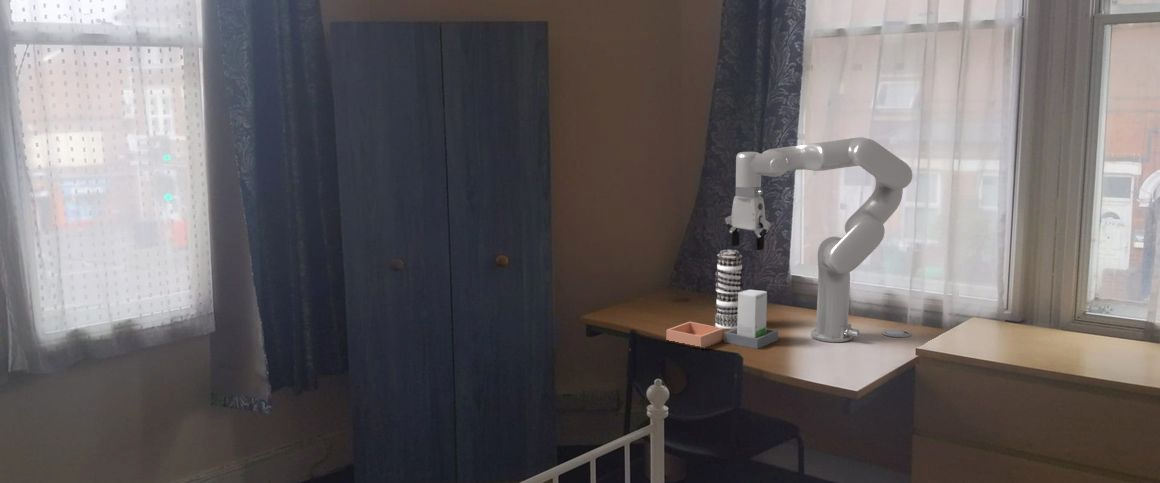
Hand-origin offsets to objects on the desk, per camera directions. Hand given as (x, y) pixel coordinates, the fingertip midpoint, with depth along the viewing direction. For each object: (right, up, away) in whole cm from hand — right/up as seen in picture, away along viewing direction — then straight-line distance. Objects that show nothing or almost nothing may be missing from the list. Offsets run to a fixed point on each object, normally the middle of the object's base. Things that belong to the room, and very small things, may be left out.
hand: (747, 247), depth 284 cm
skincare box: (+1, -29, 0) cm, 29 cm away
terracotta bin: (-16, -29, 0) cm, 33 cm away
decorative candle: (-3, -26, +18) cm, 32 cm away
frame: (+1, -29, 0) cm, 29 cm away
